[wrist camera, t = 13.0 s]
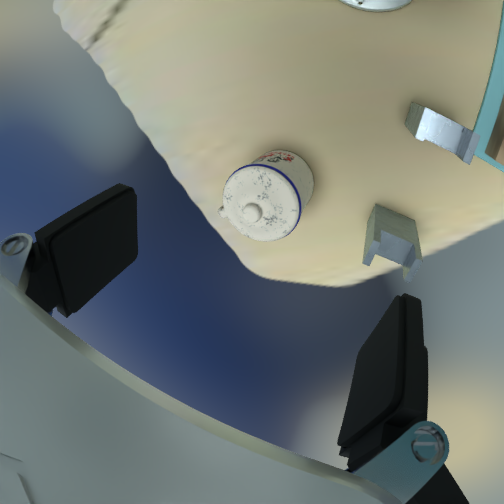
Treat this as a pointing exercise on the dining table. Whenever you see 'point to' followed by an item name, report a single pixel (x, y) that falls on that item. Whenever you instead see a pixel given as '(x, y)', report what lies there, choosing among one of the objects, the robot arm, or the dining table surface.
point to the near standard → (442, 132)
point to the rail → (497, 138)
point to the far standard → (393, 240)
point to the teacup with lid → (268, 195)
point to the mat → (491, 100)
